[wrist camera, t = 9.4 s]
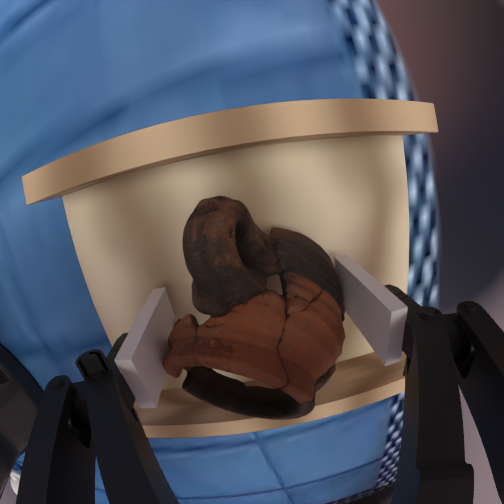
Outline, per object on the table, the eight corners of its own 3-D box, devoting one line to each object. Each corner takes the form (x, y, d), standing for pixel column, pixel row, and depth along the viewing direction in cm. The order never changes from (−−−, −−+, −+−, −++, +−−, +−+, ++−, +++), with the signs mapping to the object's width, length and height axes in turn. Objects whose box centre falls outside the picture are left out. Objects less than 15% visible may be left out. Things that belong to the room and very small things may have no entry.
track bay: (145, 394, 21) (132, 436, 16) (67, 171, 15) (21, 176, 10) (392, 349, 21) (420, 384, 16) (388, 114, 16) (433, 103, 11)
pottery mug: (357, 311, 18) (349, 428, 12) (235, 320, 22) (201, 414, 16) (310, 137, 11) (280, 263, 5) (152, 189, 16) (61, 290, 10)
